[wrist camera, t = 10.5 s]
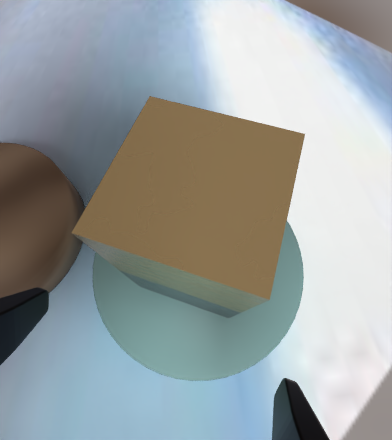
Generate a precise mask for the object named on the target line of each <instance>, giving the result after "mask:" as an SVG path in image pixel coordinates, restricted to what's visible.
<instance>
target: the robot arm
mask: <svg viewBox="0 0 392 440" xmlns="http://www.w3.org/2000/svg"><path fill="white" fill-rule="evenodd" d="M48 306H49V293H48V291H47V290H45V289H43V288H40V287H36V288H32V289H29V290H25V291H22V292H19V293H15V294H12V295H9V296H5V297H2V298H0V365H1V364H2V363H3V362H4V361H5V360H6V359H7V358H8V357H9V356H10V355H11V354H12V353H13V352H14V351H15V350H16V348H17V347H18V346H19V345H20V344H21V343H22V342H23V340H24V339H25V338H26V337H27V335H28V334H29V333H30V332H31V331H32V329H33V328H34V327H35V326H36V325H37V323H38V322H39V321H40V320H41V319H42V317H43V316H44V315H45V314H46V312H47V310H48ZM272 440H330V439H329V438H328V436H327V434H326V432H325V431H324V429H323V427H322V425H321V424H320V422H319V420H318V418H317V417H316V415H315V413H314V411H313V410H312V408H311V406H310V404H309V403H308V401H307V399H306V397H305V396H304V394H303V392H302V390H301V389H300V387H299V385H298V384H297V383H296V382H295V381H292V380H290V379H287V378H284V379H283V380H282V381H281V383H280V385H279V387H278V389H277V391H276V393H275V397H274V408H273V429H272Z"/></svg>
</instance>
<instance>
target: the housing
mask: <svg viewBox="0 0 392 440" xmlns="http://www.w3.org/2000/svg"><path fill="white" fill-rule="evenodd" d="M304 136H305V134H303V133H298V132H294V131H290V130H286V129H282V128H278V127H274V126H270V125H266V124H262V123H257V122H253V121H249V120H245V119H241V118H237V117H233V116H229V115H225V114H221V113H216V112H212V111H208V110H204V109H200V108H196V107H192V106H188V105H184V104H180V103H175V102H171V101H167V100H163V99H159V98H155V97H151V96H150V97H149V99H148V100H147V102H146V104H145V106H144V107H143V109H142V111H141V113H140V114H139V116H138V118H137V120H136V121H135V123H134V125H133V127H132V128H131V130H130V132H129V134H128V135H127V137H126V139H125V140H124V142H123V144H122V146H121V147H120V149H119V151H118V153H117V154H116V156H115V158H114V160H113V161H112V163H111V165H110V167H109V168H108V170H107V172H106V174H105V175H104V177H103V179H102V181H101V182H100V184H99V186H98V188H97V189H96V191H95V193H94V194H93V196H92V198H91V200H90V201H89V203H88V205H87V207H86V208H85V210H84V212H83V214H82V215H81V217H80V219H79V221H78V222H77V224H76V226H75V228H74V229H73V231H72V234H73V235H75V236H76V237H77V238H79V239H80V240H81V241H82V242H84V243H85V244H86V245H87V246H89V247H90V248H91V249H93V250H94V251H95V252H96V253H98V254H99V255H100V256H101V257H103V258H104V259H105V260H106V261H108V262H109V263H110V264H112V265H113V266H114V267H115V268H117V269H118V270H119V271H120V272H122V273H123V274H124V275H126V276H127V277H128V278H129V279H131V280H132V281H133V282H134V283H136V284H137V285H138V286H140V287H142V288H145V289H147V290H150V291H153V292H156V293H159V294H161V295H164V296H167V297H170V298H173V299H176V300H178V301H181V302H184V303H187V304H190V305H192V306H195V307H198V308H201V309H204V310H206V311H209V312H212V313H215V314H218V315H220V316H223V317H226V318H231V317H233V316H235V315H237V314H239V313H242V312H244V311H246V310H248V309H251V308H253V307H255V306H257V305H260V304H262V303H264V302H266V301H268V300H270V296H271V291H272V287H273V282H274V277H275V273H276V268H277V263H278V258H279V254H280V249H281V244H282V240H283V235H284V230H285V225H286V221H287V216H288V211H289V207H290V202H291V197H292V192H293V188H294V183H295V178H296V174H297V169H298V164H299V160H300V155H301V150H302V145H303V141H304Z"/></svg>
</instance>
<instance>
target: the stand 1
mask: <svg viewBox="0 0 392 440" xmlns="http://www.w3.org/2000/svg"><path fill="white" fill-rule="evenodd" d="M84 210H85V208H84V205H83V201H82V199H81V197H80V195H79V193H78V191H77V190H76V188H75V187H74V186H73V185H72V183H71V182H70V181H69V180H68V179H67V177H66V176H65V175H64V174H63V173H62V172H61V170H60V169H59V168H58V167H57V166H56V165H55V164H54V163H53V162H52V161H51V159H49V158H48V157H47V156H45V155H44V154H43V153H41V152H39V151H37V150H35V149H33V148H30V147H27V146H24V145H19V144H13V143H0V298H2V297H5V296H9V295H12V294H15V293H19V292H22V291H25V290H29V289H32V288H36V287H40V288H43V289H45V290H47V291H48V293H50V292H51V291H52V290H53V289H54V288H55V287H56V286H57V285H58V284H59V283H60V282H61V280H62V279H63V278H64V277H65V275H66V274H67V273H68V271H69V270H70V268H71V267H72V265H73V263H74V262H75V260H76V258H77V256H78V254H79V251H80V249H81V246H82V243H83V242H82V241H81V240H80V239H79V238H77V237H76V236H75V235H73V234H72V231H73V229H74V228H75V226H76V224H77V222H78V221H79V219H80V217H81V215H82V214H83V212H84Z"/></svg>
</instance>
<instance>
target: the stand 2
mask: <svg viewBox="0 0 392 440" xmlns="http://www.w3.org/2000/svg"><path fill="white" fill-rule="evenodd" d="M303 278H304V277H303V263H302V257H301V252H300V249H299V245H298V242H297V239H296V237H295V235H294V233H293V231H292V228H291V226H290V225H289V223H288V222H287V221H286V225H285V230H284V235H283V240H282V244H281V249H280V254H279V258H278V263H277V268H276V273H275V277H274V282H273V287H272V291H271V296H270V300H268V301H266V302H264V303H262V304H260V305H257V306H255V307H253V308H251V309H248V310H246V311H244V312H242V313H239V314H237V315H235V316H233V317H231V318H226V317H223V316H220V315H218V314H215V313H212V312H209V311H206V310H204V309H201V308H198V307H195V306H192V305H190V304H187V303H184V302H181V301H178V300H176V299H173V298H170V297H167V296H164V295H161V294H159V293H156V292H153V291H150V290H147V289H145V288H142V287H140V286H138V285H137V284H136V283H134V282H133V281H132V280H131V279H129V278H128V277H127V276H126V275H124V274H123V273H122V272H120V271H119V270H118V269H117V268H115V267H114V266H113V265H112V264H110V263H109V262H108V261H106V260H105V259H104V258H103V257H101V256H100V255H99V254H98V253H96V252H95V257H94V264H93V289H94V296H95V300H96V304H97V308H98V311H99V313H100V316H101V318H102V320H103V323H104V324H105V326H106V328H107V330H108V331H109V333H110V335H111V336H112V337H113V339H114V340H115V341H116V342H117V344H118V345H119V346H120V347H121V348H122V349H123V350H124V351H125V352H126V353H127V354H128V355H129V356H131V357H132V358H133V359H134V360H136V361H137V362H139V363H140V364H142V365H143V366H145V367H146V368H148V369H151V370H153V371H155V372H157V373H159V374H162V375H165V376H169V377H172V378H175V379H182V380H189V381H209V380H214V379H220V378H225V377H228V376H231V375H234V374H237V373H240V372H242V371H244V370H246V369H248V368H250V367H251V366H253V365H255V364H256V363H258V362H259V361H260V360H262V359H263V358H265V357H266V356H267V355H268V354H269V353H270V352H271V351H272V350H273V349H274V348H275V347H276V346H277V345H278V344H279V343H280V341H281V340H282V339H283V337H284V336H285V335H286V333H287V332H288V330H289V328H290V326H291V325H292V323H293V321H294V319H295V316H296V313H297V311H298V308H299V305H300V301H301V296H302V291H303Z"/></svg>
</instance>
